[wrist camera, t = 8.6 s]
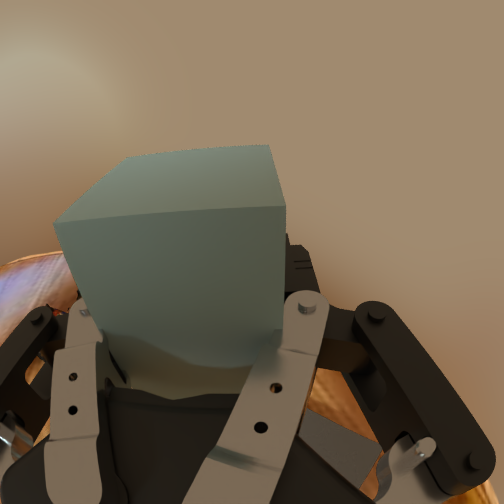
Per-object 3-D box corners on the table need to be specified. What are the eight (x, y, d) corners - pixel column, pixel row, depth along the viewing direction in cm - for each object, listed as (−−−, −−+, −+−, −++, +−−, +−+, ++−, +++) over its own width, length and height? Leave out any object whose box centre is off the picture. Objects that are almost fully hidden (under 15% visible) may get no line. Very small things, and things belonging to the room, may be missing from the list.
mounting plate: (116, 438, 22) (98, 421, 20) (212, 357, 31) (207, 334, 29) (287, 573, 12) (291, 579, 10) (379, 451, 21) (393, 435, 18)
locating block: (167, 437, 12) (52, 223, 6) (180, 357, 16) (127, 157, 10) (276, 439, 11) (286, 205, 5) (271, 356, 16) (268, 144, 10)
